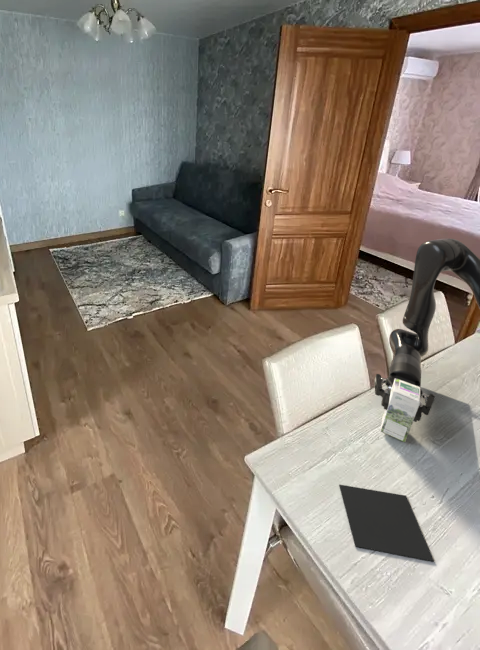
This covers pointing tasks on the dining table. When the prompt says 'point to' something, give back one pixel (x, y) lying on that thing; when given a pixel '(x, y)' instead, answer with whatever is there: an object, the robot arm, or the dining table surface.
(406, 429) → the syrup box
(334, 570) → the dining table surface
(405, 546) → the plate
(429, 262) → the robot arm
